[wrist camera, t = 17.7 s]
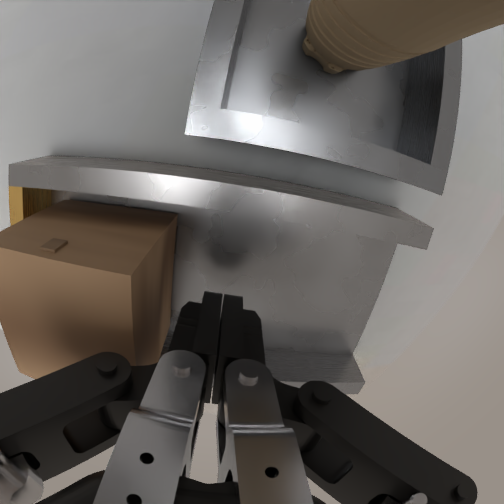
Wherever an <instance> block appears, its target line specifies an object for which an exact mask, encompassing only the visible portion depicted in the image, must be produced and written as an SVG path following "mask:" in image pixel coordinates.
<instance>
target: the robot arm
mask: <svg viewBox="0 0 504 504" xmlns="http://www.w3.org/2000/svg"><path fill="white" fill-rule="evenodd" d="M222 297H223V294H222V293H216V292H209V291H204V295H203V299H202V303H197V302H191V301H189V302H188V303H186V304H185V305H184V306H183V307H182V308H181V310H180V314H179V317H178V320H177V323H176V326H175V330H174V333H173V336H172V340H171V343H170V346H169V350H168V352H167V353H165V354H164V355H163V356H162V357H161V358H160V359H159V361H158V362H157V363H154V364H151V365H143V366H131V365H130V363H129V361H128V360H127V359H126V358H125V357H124V356H122V355H120V354H118V353H114V352H101V353H97V354H95V355H92V356H90V357H88V358H85V359H83V360H81V361H78V362H76V363H74V364H71V365H69V366H67V367H64V368H62V369H59V370H57V371H55V372H52V373H50V374H47V375H45V376H43V377H40V378H38V379H35V380H33V381H30V382H28V383H25V384H23V385H20V386H18V387H15V388H13V389H10V390H8V391H5V392H2V393H0V504H33V503H34V502H36V501H37V500H39V499H40V498H41V497H42V493H43V489H44V488H43V482H44V481H46V480H48V479H50V478H52V477H54V476H56V475H58V474H60V473H62V472H64V471H67V470H69V469H71V468H72V467H75V466H76V465H78V464H80V463H82V462H84V461H86V460H88V459H90V458H92V457H94V456H96V455H97V454H99V453H101V452H103V451H104V450H106V449H108V448H110V447H112V446H113V445H115V444H116V445H115V447H114V450H113V452H112V455H111V457H110V460H109V462H108V465H107V468H106V470H103V471H99V472H96V473H93V474H91V475H88V476H86V477H84V478H82V479H81V480H79V481H77V482H75V483H73V484H72V485H70V486H68V487H66V488H65V489H63V490H61V491H59V492H57V493H55V494H53V495H52V496H49V497H47V498H46V499H44V500H42V501H40V502H38V503H35V504H326V503H324V502H323V501H321V500H320V499H318V498H317V497H315V496H313V495H311V492H310V489H309V485H308V481H307V477H308V478H310V479H311V480H312V481H313V482H314V483H316V484H317V485H318V486H319V487H320V488H322V489H323V490H324V491H326V492H327V493H328V494H329V495H331V496H332V497H333V498H335V499H336V500H337V501H338V502H340V503H341V504H474V503H475V501H476V499H477V487H476V485H475V483H474V481H473V480H472V479H471V478H470V477H469V476H467V475H465V474H464V473H462V472H460V471H459V470H457V469H455V468H453V467H452V466H450V465H449V464H447V463H445V462H444V461H442V460H441V459H439V458H437V457H436V456H434V455H433V454H431V453H429V452H428V451H426V450H425V449H423V448H422V447H420V446H419V445H417V444H415V443H414V442H412V441H411V440H410V439H408V438H406V437H405V436H403V435H402V434H400V433H399V432H397V431H396V430H395V429H393V428H392V427H390V426H389V425H387V424H386V423H384V422H383V421H382V420H380V419H379V418H377V417H376V416H374V415H373V414H372V413H370V412H369V411H367V410H366V409H365V408H363V407H362V406H360V405H359V404H358V403H356V402H355V401H354V400H352V399H351V398H349V397H348V396H347V395H345V394H344V393H343V392H341V391H340V390H339V389H337V388H336V387H335V386H333V385H331V384H329V383H327V382H324V381H309V382H306V383H304V384H303V385H302V386H301V387H300V388H297V387H294V386H290V385H287V384H284V383H282V382H280V381H278V380H276V379H275V378H274V377H273V376H272V373H271V372H270V370H269V369H268V368H267V367H266V363H265V353H264V344H263V337H262V336H263V334H262V325H261V319H260V317H259V316H258V314H257V313H256V312H255V311H253V310H246V309H243V296H237V295H230V294H224V298H223V305H222ZM221 307H222V311H221ZM220 316H221V318H220ZM214 370H215V371H214ZM213 377H214V382H213ZM212 384H213V394H212V403H213V404H218V414H217V420H216V437H217V458H218V478H217V483H214V484H205V483H202V482H199V481H196V480H193V479H190V478H189V477H190V469H191V463H192V458H193V454H194V449H195V444H196V439H197V434H198V429H199V424H200V419H201V417H202V415H203V409H204V403H210V398H211V391H212ZM306 476H307V477H306Z"/></svg>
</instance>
